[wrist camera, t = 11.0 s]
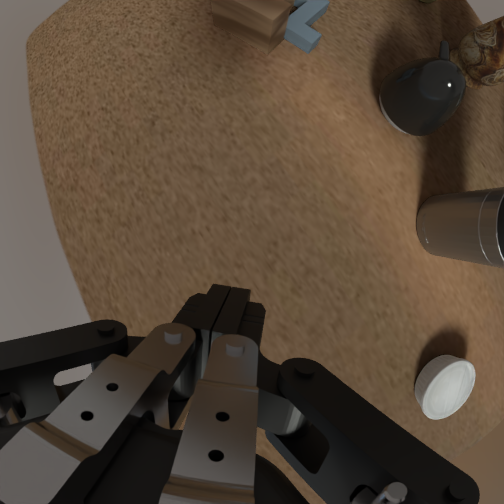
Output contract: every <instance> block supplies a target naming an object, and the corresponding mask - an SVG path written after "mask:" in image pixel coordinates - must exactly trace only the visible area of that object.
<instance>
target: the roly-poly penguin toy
mask: <svg viewBox="0 0 504 504" xmlns="http://www.w3.org/2000/svg"><path fill="white" fill-rule="evenodd" d="M465 91H466V79H465V76H464V74H463V72H462V70H461V69H460V68H459V67H458V66H457V65H456V64H455V63H453V62H452V61H450V60H449V43H448V42H447V41H441V43H440V50H439V57H438V58H436V57H431V58H423V59H418V60H414V61H411V62H408V63H406V64H404V65H402V66H400V67H398V68H397V69H395V70H393V71H392V72H390V73H389V74H388V75H387V76H386V77H385V78H384V80H383V81H382V84H381V87H380V96H379V100H380V106H381V110H382V112H383V114H384V116H385V118H386V119H387V120H388V122H389V123H390V124H391V125H392V126H393V127H395V128H396V129H398V130H399V131H401V132H403V133H406V134H411V135H414V136H426V135H429V134H431V133H433V132H435V131H436V130H438V129H439V128H440V127H441V126H443V125H444V124H445V123H446V122H447V121H448V120H449V119H450V118H451V117H452V116H453V114H454V113H455V112H456V110H457V109H458V107H459V106H460V104H461V102H462V100H463V98H464V95H465Z"/></svg>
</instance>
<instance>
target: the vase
mask: <svg viewBox="0 0 504 504" xmlns="http://www.w3.org/2000/svg"><path fill="white" fill-rule="evenodd" d="M450 61H452V62H453V63H455V64H456V65H457V66H458V67H459V68H460V69H461V70H462V72H463V74H464V76H465V79H466V85H467V86H468V87H470V88H472V89H481V88H482V86H483V85H486V86H494V85H498V84H501V83H503V82H504V16H503V17H500V18H497V19H495V20H493V21H490V22H488V23H485V24H483V25H481V26H479V27H477V28H475V29H473V30H472V31H470V32H469V33H468V34H467V35H465V36H464V37H463V39H462V40H461V42H460V44H459V48H455V49H452V50H451V52H450Z"/></svg>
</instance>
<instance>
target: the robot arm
mask: <svg viewBox="0 0 504 504" xmlns="http://www.w3.org/2000/svg"><path fill="white" fill-rule="evenodd" d="M417 234H418V237H419V240H420V242H421V244H422V246H423V247H424V248H425V250H426V251H428V252H429V253H430V254H433V255H435V256H441V257H446V258H451V259H457V260H462V261H468V262H473V263H478V264H483V265H489V266H494V267H499V268H504V187H500V188H492V189H484V190H475V191H467V192H459V193H450V194H442V195H435V196H432V197H430V198H428V199H427V200H426V201H425V202H424V203H423V204H422V206H421V208H420V210H419V212H418V216H417ZM250 292H251V290H249V289H243V288H237V287H232V288H231V287H230V286H224V285H218V284H213V285H212V286H211V288H210V289H209V291H208V293H207V294H201V293H197V294H195V295H193V296H191V297H189V299H188V300H187V302H186V303H185V305H184V306H183V307H182V309H181V310H180V311H179V313H178V314H177V316H176V317H175V318H174V320H173V321H172V323H165V324H161V325H159V326H157V327H155V328H154V329H153V330H152V331H151V332H150V333H149V334H148V335H147V336H146V337H137V336H128V335H127V328H126V326H125V325H124V324H122V323H121V322H119V321H115V320H99V321H94V322H90V323H86V324H82V325H77V326H73V327H69V328H64V329H60V330H55V331H51V332H46V333H42V334H37V335H33V336H28V337H23V338H19V339H14V340H10V341H5V342H0V504H309V503H308V502H307V500H306V499H305V498H304V497H303V496H302V495H301V493H300V492H299V491H298V490H297V489H296V488H295V486H294V485H293V484H292V483H291V482H290V480H289V479H288V478H287V477H286V476H285V474H284V473H283V472H282V471H280V470H279V469H278V468H277V467H276V466H275V465H274V464H272V463H271V462H270V461H268V460H267V459H265V458H263V457H262V456H260V455H258V454H256V435H257V427H259V428H262V429H264V430H265V434H266V437H267V439H268V440H269V441H270V443H271V444H272V445H273V446H274V447H275V448H276V450H277V451H278V452H279V453H280V454H281V455H282V456H283V457H284V459H285V460H286V461H287V462H288V463H289V464H290V465H291V466H292V467H293V469H294V470H295V471H296V472H297V473H298V474H299V475H300V476H301V477H302V478H303V479H304V480H305V482H306V483H307V484H308V485H309V486H310V487H311V488H312V489H313V490H314V491H315V492H316V493H317V494H318V495H319V496H320V497H321V498H322V499H323V500H324V501H325V502H326V503H327V504H478V502H479V496H480V494H479V488H478V486H477V484H476V482H475V481H474V480H473V479H472V478H471V477H470V476H469V475H467V474H466V473H464V472H463V471H461V470H460V469H459V468H457V467H456V466H454V465H453V464H451V463H450V462H449V461H447V460H446V459H444V458H443V457H442V456H440V455H439V454H437V453H436V452H435V451H433V450H432V449H430V448H429V447H428V446H426V445H425V444H423V443H422V442H421V441H419V440H418V439H417V438H415V437H414V436H413V435H411V434H410V433H409V432H407V431H406V430H404V429H403V428H402V427H400V426H399V425H398V424H396V423H395V422H394V421H392V420H391V419H390V418H389V417H387V416H386V415H385V414H383V413H382V412H381V411H379V410H378V409H377V408H375V407H374V406H373V405H372V404H370V403H369V402H368V401H366V400H365V399H364V398H362V397H361V396H360V395H359V394H357V393H356V392H355V391H354V390H352V389H351V388H350V387H348V386H347V385H346V384H345V383H343V382H342V381H341V380H340V379H338V378H337V377H336V376H335V375H333V374H332V373H331V372H330V371H328V370H327V369H326V368H325V367H323V366H322V365H321V364H319V363H318V362H316V361H313V360H310V359H306V358H292V359H288V360H286V361H284V362H283V363H282V364H281V365H279V364H276V363H274V362H272V361H270V360H268V359H267V358H265V357H264V356H263V355H262V353H261V352H260V343H261V337H262V331H263V325H264V319H265V312H266V310H265V308H264V307H263V305H262V304H261V303H255V302H249V301H250ZM90 363H91V367H92V373H91V374H90V375H89V376H88V377H87V378H86V379H84V380H80V381H77V382H73V383H70V384H66V385H62V386H56V385H54V382H53V379H54V377H55V375H56V374H57V373H58V372H60V371H64V370H68V369H71V368H75V367H78V366H82V365H86V364H90ZM188 411H189V412H188ZM187 413H188V415H187ZM186 415H187V418H186V422H185V425H184V429H183V430H179V428H180V426H181V424H182V422H183V420H184V418H185V417H186Z"/></svg>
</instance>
